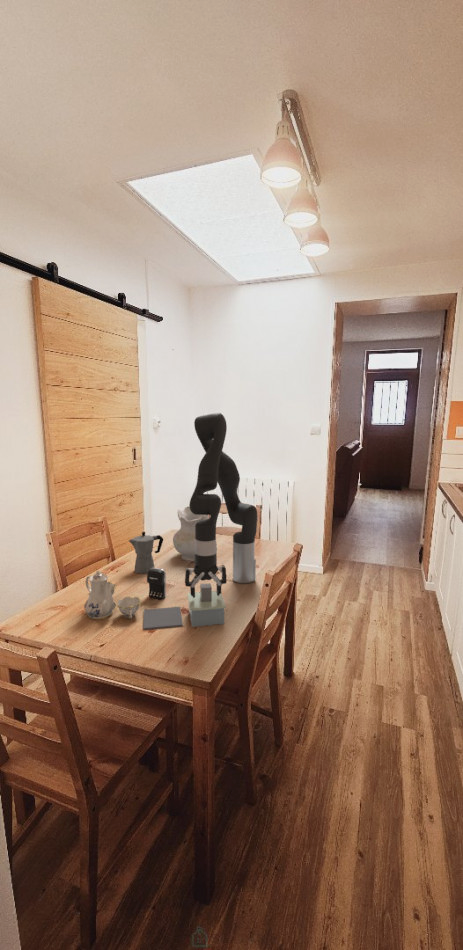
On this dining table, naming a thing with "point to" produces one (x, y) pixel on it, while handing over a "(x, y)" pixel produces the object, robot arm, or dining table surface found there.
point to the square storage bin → (206, 617)
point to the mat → (162, 618)
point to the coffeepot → (145, 552)
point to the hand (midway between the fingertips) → (205, 595)
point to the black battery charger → (157, 583)
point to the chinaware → (107, 599)
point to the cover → (205, 599)
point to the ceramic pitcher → (187, 533)
